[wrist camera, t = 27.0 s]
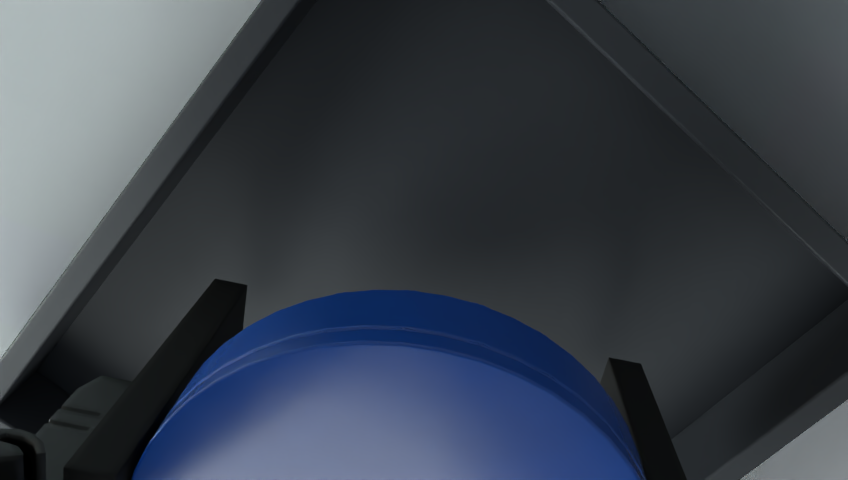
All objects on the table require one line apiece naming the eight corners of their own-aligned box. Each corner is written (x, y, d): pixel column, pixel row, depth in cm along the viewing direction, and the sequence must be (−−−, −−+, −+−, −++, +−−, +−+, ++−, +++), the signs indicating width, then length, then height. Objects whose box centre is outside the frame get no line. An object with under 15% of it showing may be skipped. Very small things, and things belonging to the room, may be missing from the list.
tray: (411, -169, 15) (399, -192, 13) (878, 281, 18) (941, 332, 16) (19, 360, 20) (-41, 414, 18) (426, 638, 23) (420, 716, 21)
